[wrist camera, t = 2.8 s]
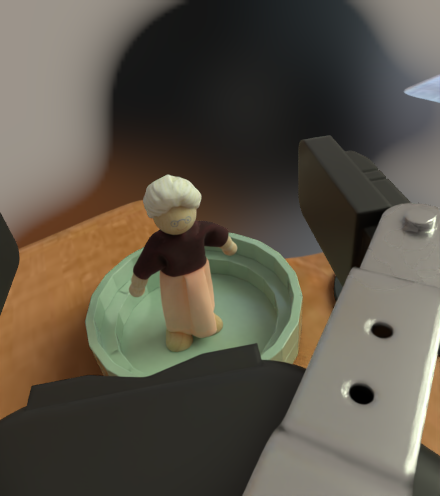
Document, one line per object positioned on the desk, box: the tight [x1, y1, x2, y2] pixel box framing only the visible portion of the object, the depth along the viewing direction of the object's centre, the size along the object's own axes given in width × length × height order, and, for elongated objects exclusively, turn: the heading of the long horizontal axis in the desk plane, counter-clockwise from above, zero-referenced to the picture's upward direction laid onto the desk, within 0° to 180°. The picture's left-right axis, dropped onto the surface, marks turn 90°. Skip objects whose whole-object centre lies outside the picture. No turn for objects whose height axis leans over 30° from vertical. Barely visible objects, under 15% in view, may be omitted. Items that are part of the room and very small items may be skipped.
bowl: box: [85, 233, 303, 377], centre depth 30 cm, size 15×15×4 cm
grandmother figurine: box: [129, 175, 237, 352], centre depth 27 cm, size 8×4×13 cm, turn 129°
